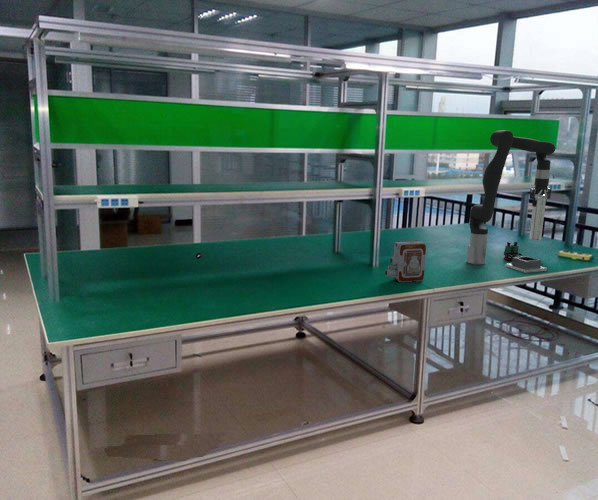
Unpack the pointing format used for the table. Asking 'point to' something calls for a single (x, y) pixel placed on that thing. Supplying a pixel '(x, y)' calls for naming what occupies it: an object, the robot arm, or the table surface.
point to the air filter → (537, 219)
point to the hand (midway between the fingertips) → (538, 206)
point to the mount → (526, 264)
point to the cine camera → (408, 261)
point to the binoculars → (511, 251)
